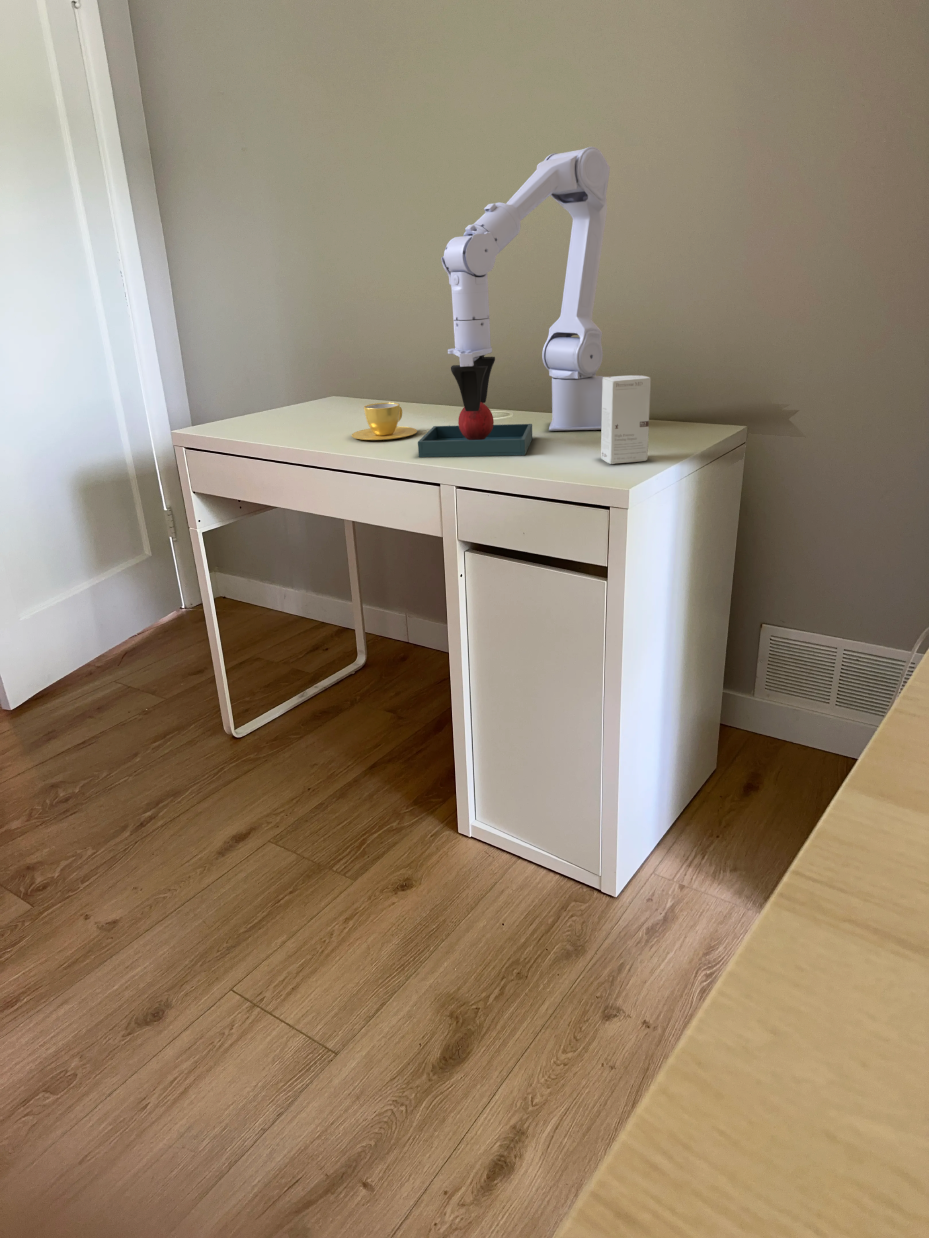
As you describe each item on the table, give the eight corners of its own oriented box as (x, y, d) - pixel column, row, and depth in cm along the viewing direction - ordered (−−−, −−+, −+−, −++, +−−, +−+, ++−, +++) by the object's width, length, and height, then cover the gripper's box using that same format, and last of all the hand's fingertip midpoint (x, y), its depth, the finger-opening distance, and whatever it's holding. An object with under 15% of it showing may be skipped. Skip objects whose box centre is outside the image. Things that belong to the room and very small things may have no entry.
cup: (387, 444, 148) (384, 413, 146) (338, 439, 155) (334, 409, 153) (430, 431, 157) (428, 401, 155) (382, 427, 164) (379, 398, 161)
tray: (532, 438, 146) (532, 423, 145) (525, 455, 134) (524, 439, 133) (434, 440, 149) (433, 426, 148) (418, 457, 137) (417, 441, 136)
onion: (490, 448, 138) (489, 398, 135) (456, 448, 140) (453, 398, 136) (496, 440, 144) (495, 392, 140) (463, 441, 145) (461, 393, 142)
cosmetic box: (610, 465, 125) (611, 380, 120) (599, 459, 129) (600, 377, 124) (649, 461, 126) (652, 377, 122) (637, 455, 130) (639, 373, 126)
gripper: (454, 316, 141) (459, 400, 146) (437, 324, 128) (443, 415, 133) (496, 314, 140) (499, 398, 145) (484, 322, 127) (488, 414, 132)
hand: (475, 406), depth 139 cm, fingers open, 7 cm apart
